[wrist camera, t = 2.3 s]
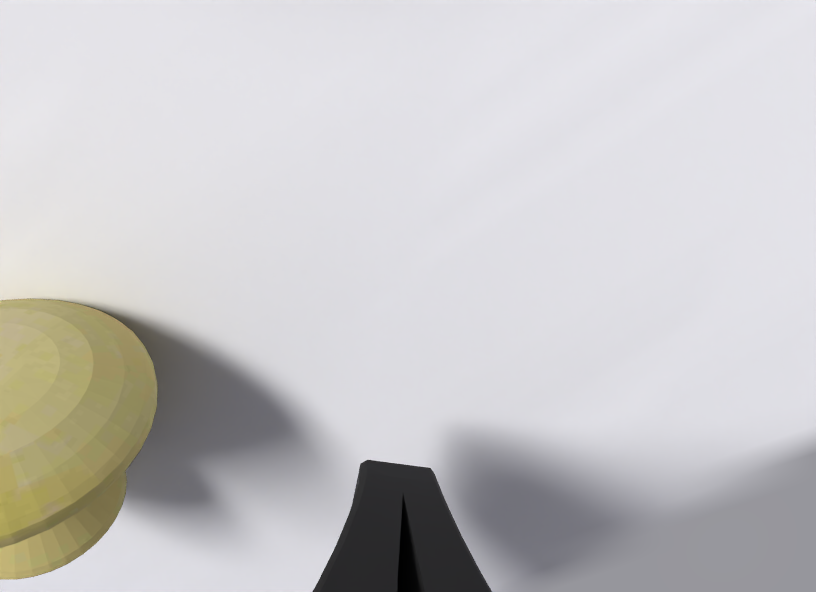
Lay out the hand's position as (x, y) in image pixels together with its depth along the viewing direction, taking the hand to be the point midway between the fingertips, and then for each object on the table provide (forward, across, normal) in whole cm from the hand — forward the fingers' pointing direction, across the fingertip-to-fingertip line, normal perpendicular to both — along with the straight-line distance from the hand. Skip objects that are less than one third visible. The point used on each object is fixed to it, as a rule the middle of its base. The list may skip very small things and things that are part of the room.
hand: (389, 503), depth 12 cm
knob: (+3, +7, 0) cm, 8 cm away
